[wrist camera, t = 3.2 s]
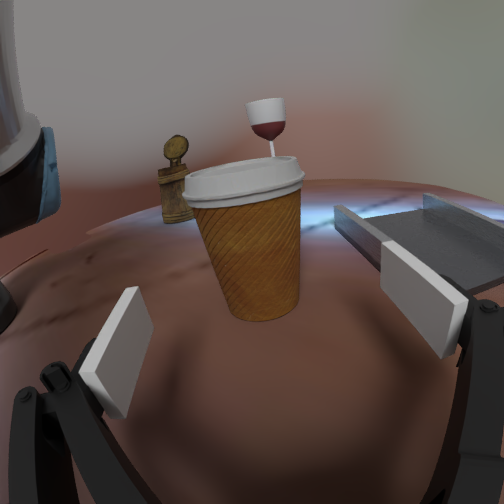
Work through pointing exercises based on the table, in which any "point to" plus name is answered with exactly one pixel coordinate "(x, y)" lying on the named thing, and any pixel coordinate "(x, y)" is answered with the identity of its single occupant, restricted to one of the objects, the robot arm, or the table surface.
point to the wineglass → (267, 118)
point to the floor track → (434, 240)
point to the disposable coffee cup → (251, 232)
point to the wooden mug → (174, 182)
